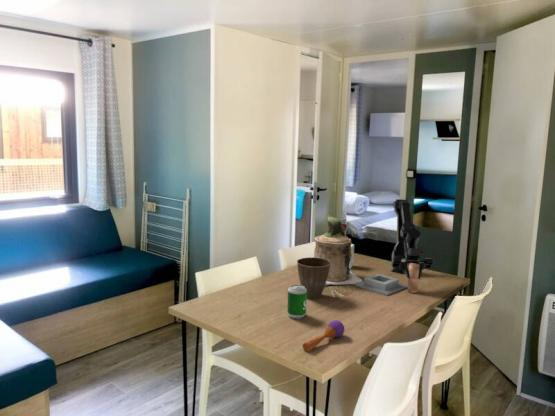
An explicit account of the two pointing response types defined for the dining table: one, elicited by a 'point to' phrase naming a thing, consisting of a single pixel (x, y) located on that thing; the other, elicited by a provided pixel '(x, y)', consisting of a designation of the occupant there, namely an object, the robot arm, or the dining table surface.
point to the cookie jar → (336, 253)
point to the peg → (413, 277)
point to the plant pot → (313, 275)
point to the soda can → (297, 301)
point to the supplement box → (352, 256)
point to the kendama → (326, 335)
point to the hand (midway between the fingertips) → (414, 278)
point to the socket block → (381, 284)
